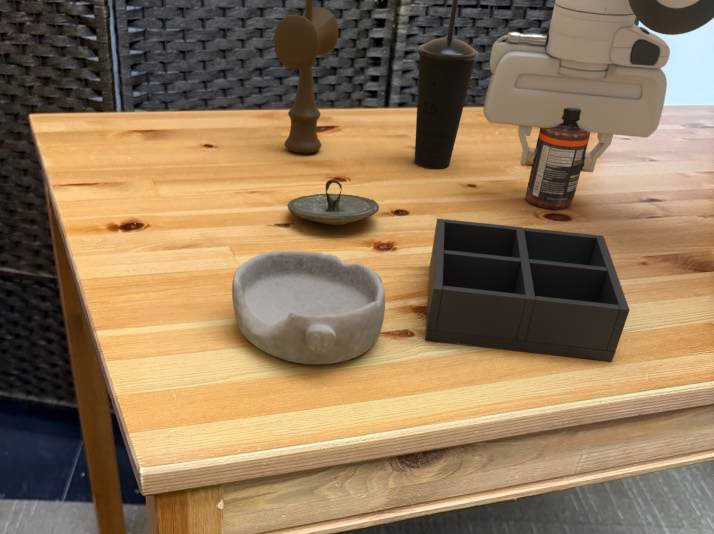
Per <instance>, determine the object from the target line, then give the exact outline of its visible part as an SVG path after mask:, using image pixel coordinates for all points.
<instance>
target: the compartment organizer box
mask: <svg viewBox="0 0 714 534" xmlns="http://www.w3.org/2000/svg"><path fill="white" fill-rule="evenodd" d="M430 254H431V255H430V262H429V270H428V271H429V272H428V286H427V287H428V289H427V304H426V319H425V320H426V321H425V334H424V335H425V337H424V340H425V341H428V342H429V341H430V342H437V343H446V344H456V345H463V346H471V347H472V346H473V347H481V348H490V349H499V350H506V351H515V350H516V351H517V352H525V353H534V354H543V355H551V356H560V357H561V356H562V357H569V358H577V359H586V360H587V359H588V360H595V361H604V362H613V360H614V357H615V355H616V351H617V348H618V345H619V343H620V339H621V337H622V334H623V332H624V331H623V330H624V328H625V325H626V322H627V319H628V316H629V313H630V307H629V304H628V301H627V299H626V296H625V293H624V290H623V286H622V284H621V282H620V279H619V276H618V273H617V271H616V270H617V269H616V268H615V265H614V262H613V259H612V256H611V254H610V250H609V248H608V245H607V242H606V239H605V237H604V235H602V234H601V235H600V234H590V233H583V232H581V233H580V232H573V231H572V232H569V231H563V230H562V231H561V230H552V229H543V228H532V227H524V226H516V225H515V226H514V225H505V224H495V223H486V222H485V223H484V222H475V221H467V220H458V219H457V220H456V219H447V218H445V219H444V218H436V222H435V230H434V236H433V242H432V249H431V253H430ZM516 351H515V352H516Z"/></svg>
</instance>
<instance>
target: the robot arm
mask: <svg viewBox="0 0 714 534" xmlns="http://www.w3.org/2000/svg"><path fill="white" fill-rule="evenodd" d="M553 6H554V7H553V11H552V14H551V20H550V25H549V28H548V29H549V30H548V33H547V34H545V33H522V32H519V31H508V33H507V34H506V35H503V36H501V37H498V38H497V39H496V40H495V42H493V44H492V47H491V49H490V54H489V55H490V56H489V60H488V67H489V71H490V74H491V77H490V80H489V83H488V86H487V89H486V94H485V98H484V103H483V116H484V117H485V119H486V121H487V122H488V123H491V124H499V125H508V126H517V135H518V138H519V141H520V145H521V148H522V151H521V156H520V166H522V167H532V166H533V165H534V159H535V156H536V151H535V149H536V147H530V146H529V143H528V140H527V137H530V136H531V133H532V130H533V128H539V129H540V128H551V127H556V126H557V125H559V124H561V123H563V122H564V121H563V119H562V117H563V114H564V113H563V111H564V109H565V108H575V109H581V113H580V120H579V121H577V124H578V126H579V128H580V129H582V130H585V131H586V132H590V133H594V134H597V135H596V138H597V140H598V142H597V143H596V145H595V146H594V147H593V148H592V149H591V151H590V152H586V153H585V157H584V161H583V164H582V168H581V172H585V173H594V170H595V167H596V163H597V160H598V159H599V158H600V157H601V155H603V154H604V152H605V151H606V150H607V149H608V148H609V147H611V144H612V141H613V137H614V135H615V136H624V137H636V138H649V137H650V136H652V135H653V134H654V133H655V132H656V131H657V129H658V127H659V125H660V122H661V118H662V113H663V110H664V105H665V100H666V95H667V87H668V82H667V76H666V74H665V72H664V71H663V69H662V68H664V67H665V66H666V65H667V64H668V62H669V59H670V55H671V49H670V46H669V44H668V43H667V42H666V41H665V40H664V39H663V38H661V37H660V36H658V35H656V34H655V33H657V34H660V35H667V36H676V35H683V34H687V33H690V32H693V31H696V30H698V29H700V28H702V27H703V26H705V25H707V24H708V23H710V22H711V21H712V20H713V19H714V0H555V1H554V5H553ZM636 19H637V21H639V22H640V23H641V24H642V25H643V26H644V27H646V28H647V29H646V28H644V27H642V26H638V25H636V24H635V21H636ZM648 29H649V30H650V31H649V30H648ZM651 31H652V32H651ZM653 32H655V33H653Z"/></svg>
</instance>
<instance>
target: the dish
mask: <svg viewBox="0 0 714 534" xmlns="http://www.w3.org/2000/svg"><path fill="white" fill-rule="evenodd" d="M231 282H232V283H231V299H232V306H233V307H232V308H233V312H234V316H235V319H236V323H237V326H238V328H239V330H240V332H241V333H242V335H243V336H244V337H245V339H247V340H248V341H249V342H250V343H251V344H252V345H254V346H255V347H256V348H258V349H260V350H261V351H263V352H265V353H267V354H269V355H271V356H273V357H276V358H279V359H282V360H285V361H288V362H291V363H298V364H305V365H329V364H330V365H331V364H336V363H341V362H346V361H348V360H351V359H354V358H356V357H359V356H361V355H363V354H364V353H366V352H367V351H368V350H369V349H371V348H372V347H373V346H374V345H375V343H376V342H377V340H378V339H379V336H380V334H381V331H382V328H383V323H384V320H385V319H384V317H385V312H386V311H385V309H386V292H385V288H384V284H383V280H382V277H381V276H380V274H379V273H378V272H376V271H374V270H372V268H370V267H369V266H367V265H365V264H364V263H361V262H358V263H349V262H346V261H344V260H342V259H340V258H339V257H338V256H337V255H335V254H333V253H332V254H331V253H328V254H327V253H323V252H321V251H306V250H272V251H268V252H264V253H260V254H257V255H256V256H253V257H251V258H249V259H248V260H245V262H242V264H241V265H239V267H238V268H237V269H236V270H235V272H234V275H233V277H232V281H231Z"/></svg>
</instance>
